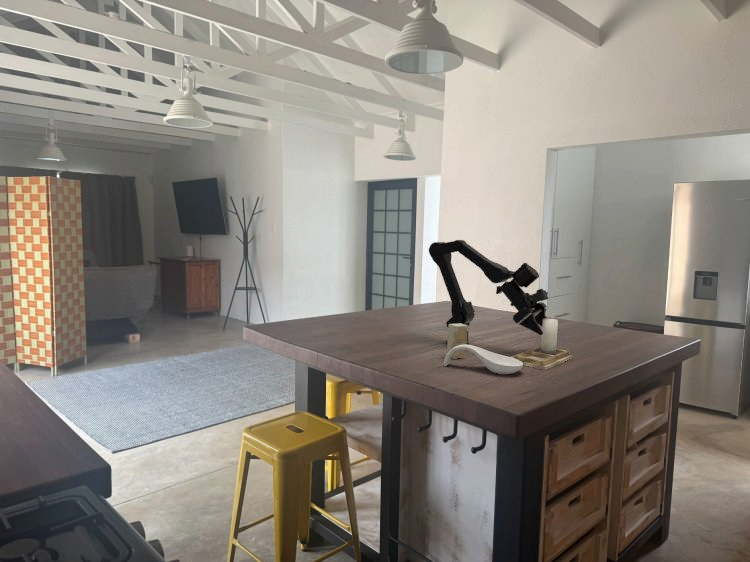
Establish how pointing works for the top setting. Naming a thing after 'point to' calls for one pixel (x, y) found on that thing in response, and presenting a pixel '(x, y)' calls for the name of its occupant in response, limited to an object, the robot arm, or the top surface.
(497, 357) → the spoon rest
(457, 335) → the box
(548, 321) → the sleeve
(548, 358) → the bay board
